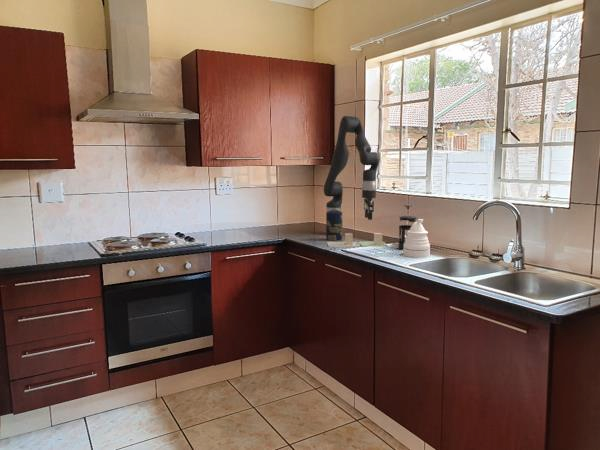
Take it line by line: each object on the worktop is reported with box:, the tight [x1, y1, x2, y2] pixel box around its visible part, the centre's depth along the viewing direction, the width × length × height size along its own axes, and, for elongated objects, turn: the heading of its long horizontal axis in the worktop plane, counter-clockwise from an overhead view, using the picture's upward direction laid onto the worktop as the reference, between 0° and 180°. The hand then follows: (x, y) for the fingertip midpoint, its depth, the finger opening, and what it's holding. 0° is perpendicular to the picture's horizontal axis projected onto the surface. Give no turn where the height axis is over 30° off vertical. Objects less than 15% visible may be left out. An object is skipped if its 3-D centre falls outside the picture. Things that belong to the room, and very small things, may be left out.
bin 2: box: [357, 240, 389, 248], centre depth 265 cm, size 12×14×1 cm
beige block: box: [343, 232, 354, 245], centre depth 264 cm, size 4×4×6 cm
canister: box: [325, 210, 343, 242], centre depth 280 cm, size 10×10×18 cm
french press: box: [397, 205, 417, 251], centre depth 253 cm, size 12×9×23 cm
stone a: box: [373, 232, 383, 245], centre depth 264 cm, size 4×4×6 cm
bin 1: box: [326, 241, 361, 248], centre depth 264 cm, size 12×17×1 cm
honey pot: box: [402, 218, 431, 259], centre depth 236 cm, size 13×13×18 cm
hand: (368, 218), depth 263 cm, fingers open, 8 cm apart
